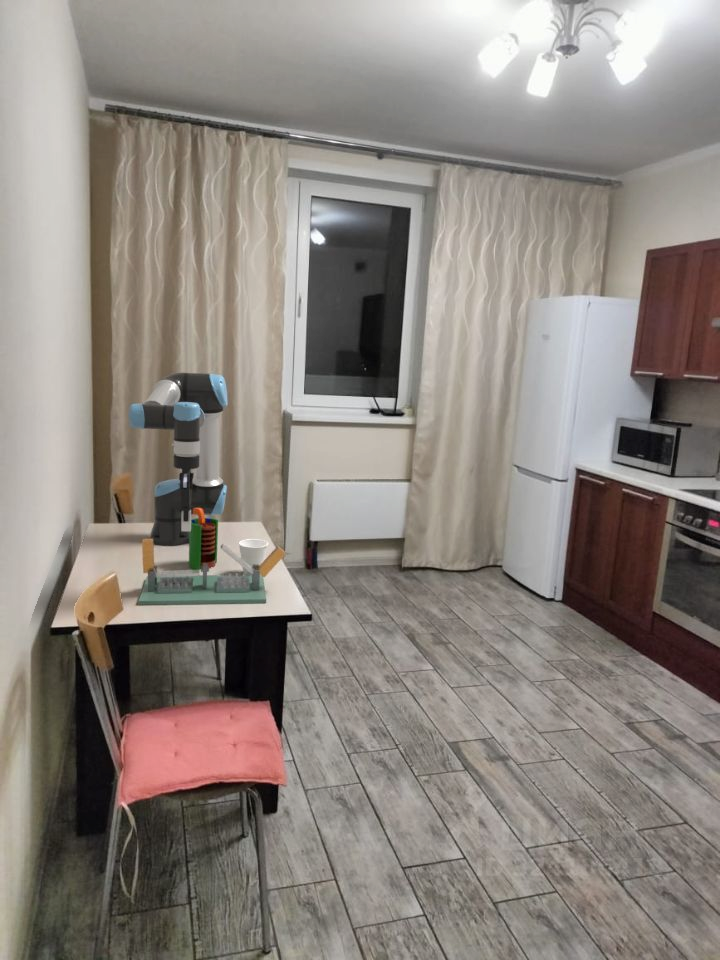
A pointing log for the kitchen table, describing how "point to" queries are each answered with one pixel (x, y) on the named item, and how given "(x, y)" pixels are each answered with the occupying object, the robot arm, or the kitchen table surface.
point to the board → (203, 593)
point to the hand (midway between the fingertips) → (186, 530)
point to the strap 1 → (149, 563)
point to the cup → (253, 552)
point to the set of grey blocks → (204, 582)
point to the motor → (202, 540)
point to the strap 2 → (266, 564)
